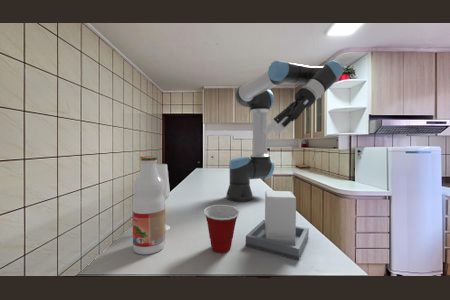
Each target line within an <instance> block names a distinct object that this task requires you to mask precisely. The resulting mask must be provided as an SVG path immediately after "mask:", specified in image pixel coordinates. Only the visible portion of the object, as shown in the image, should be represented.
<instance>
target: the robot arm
mask: <svg viewBox="0 0 450 300" xmlns="http://www.w3.org/2000/svg"><path fill="white" fill-rule="evenodd" d="M267 70H268V71H267ZM267 70H266V72H264V73H261V74H260V75H259V76H258V77H256V78H254V79H253V80H251V81H249V82H248V83H243V84H241V85H240V86H238V87H237V88H236V91H235V95H234V98H235V99H236V103H238V105H241V107H245V108H249V111H250V112H251V114H252V154H251V155H250V157H247V156H244V157H243V156H241V157H236V158H232V159H230V161H229V167H228V169H229V185H228V189H227V191H226V199H227V200H228V201H233V202H248V201H251V200H253V199H254V196H253V191H252V188H251V185H250V183H251V182H250V181H251V180H258V179H260V180H261V179H262V180H264V179H268V178H271V176H273V174H274V171H275V164H274V161H273V160H272V159H271V156H270V154H268V136H269V135H270V134H271V132H272V131H273V132H275V133H276V135H277V136H278V135H280V134H281V133H282V132H283V131H284V130H285V129H286V128H288V126H289V125H290V124H291V123H292V122H294V121H296V120H298V119H299V117H300V116H301V114H302V113H303V112H304V111H305V109H308V108H311V106H312V105H313V104H314V103H316V101H317V100H318V99H322V95H324V94H325V93H326V91H328V90H329V88H330V87H332V86H333V85H334V84H335V83H336V82H338V80H339V79H340V77H341V76H343V73H344V69H343V66H342V64H341V63H340V62H338V61H336V60H329V61H328V62H326V63H324V65H322V66H309V65H304V64H298V63H294V62H293V63H292V62H287V61H284V60H273V61H272V62H271V63H270V65H269V67H268V69H267ZM284 83H290V84H297V85H300V86H301V85H303V86H302V87H300V88H299V90H297V91H296V93H294V99H295V101H292V102H291V103H290V104H289V105H287V107H286V108H284V109H283V110H282V111H280V113H278V114H277V115H276V116H275V117H273V120H272V121H271V122H270V123H269V124H268V113H269V112H270V109H271V108H272V107H273V106H274V103H275V97H274V94H273V92H272V91H271V89H273V88H276V87H278V86H280V85H282V84H284Z"/></svg>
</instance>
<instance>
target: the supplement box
mask: <svg viewBox="0 0 450 300" xmlns="http://www.w3.org/2000/svg"><path fill="white" fill-rule="evenodd" d="M264 195H265V196H264V197H265V198H264V199H265V200H264V220H265V239H268V240H272V241H276V242H281V243H285V244H289V245H293V246H295V234H296V226H297V198H296V196H295V195H294V194H293V192H292V191H289V190H285V191H284V190H265V193H264Z"/></svg>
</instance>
